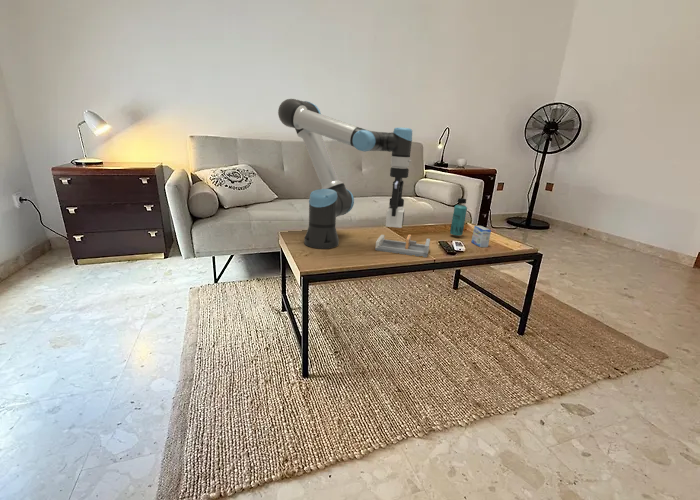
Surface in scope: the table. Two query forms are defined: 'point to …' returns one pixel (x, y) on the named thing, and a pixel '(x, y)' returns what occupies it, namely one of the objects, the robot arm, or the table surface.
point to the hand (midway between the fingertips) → (394, 221)
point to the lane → (402, 247)
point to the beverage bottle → (458, 218)
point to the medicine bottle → (399, 215)
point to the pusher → (409, 242)
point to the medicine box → (481, 236)
